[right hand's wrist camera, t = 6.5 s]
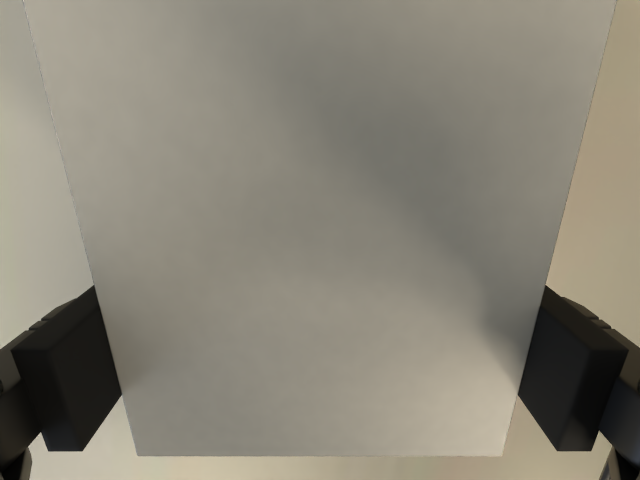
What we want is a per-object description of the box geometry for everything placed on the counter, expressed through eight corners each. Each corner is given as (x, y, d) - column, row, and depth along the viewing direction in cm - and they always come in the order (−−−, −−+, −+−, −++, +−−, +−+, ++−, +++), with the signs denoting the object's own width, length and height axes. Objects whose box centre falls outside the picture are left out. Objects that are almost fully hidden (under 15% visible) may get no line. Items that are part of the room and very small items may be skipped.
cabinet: (170, -113, 12) (-119, -550, 4) (469, -113, 12) (757, -547, 4) (218, 302, 18) (136, 456, 10) (421, 302, 18) (502, 457, 10)
